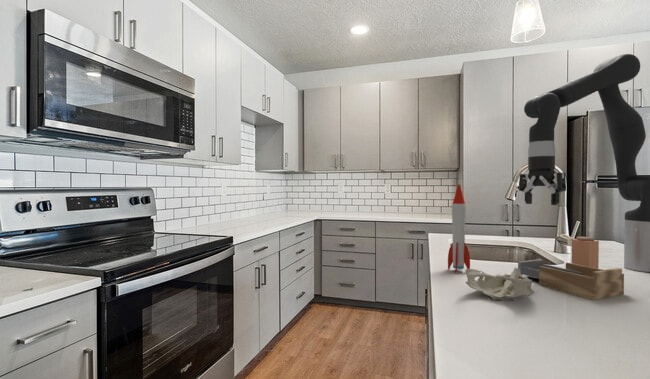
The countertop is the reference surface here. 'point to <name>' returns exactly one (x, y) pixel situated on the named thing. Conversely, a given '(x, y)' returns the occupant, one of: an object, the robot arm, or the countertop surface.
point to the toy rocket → (458, 234)
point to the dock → (584, 281)
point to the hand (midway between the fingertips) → (541, 204)
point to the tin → (585, 252)
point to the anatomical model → (500, 284)
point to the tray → (532, 268)
